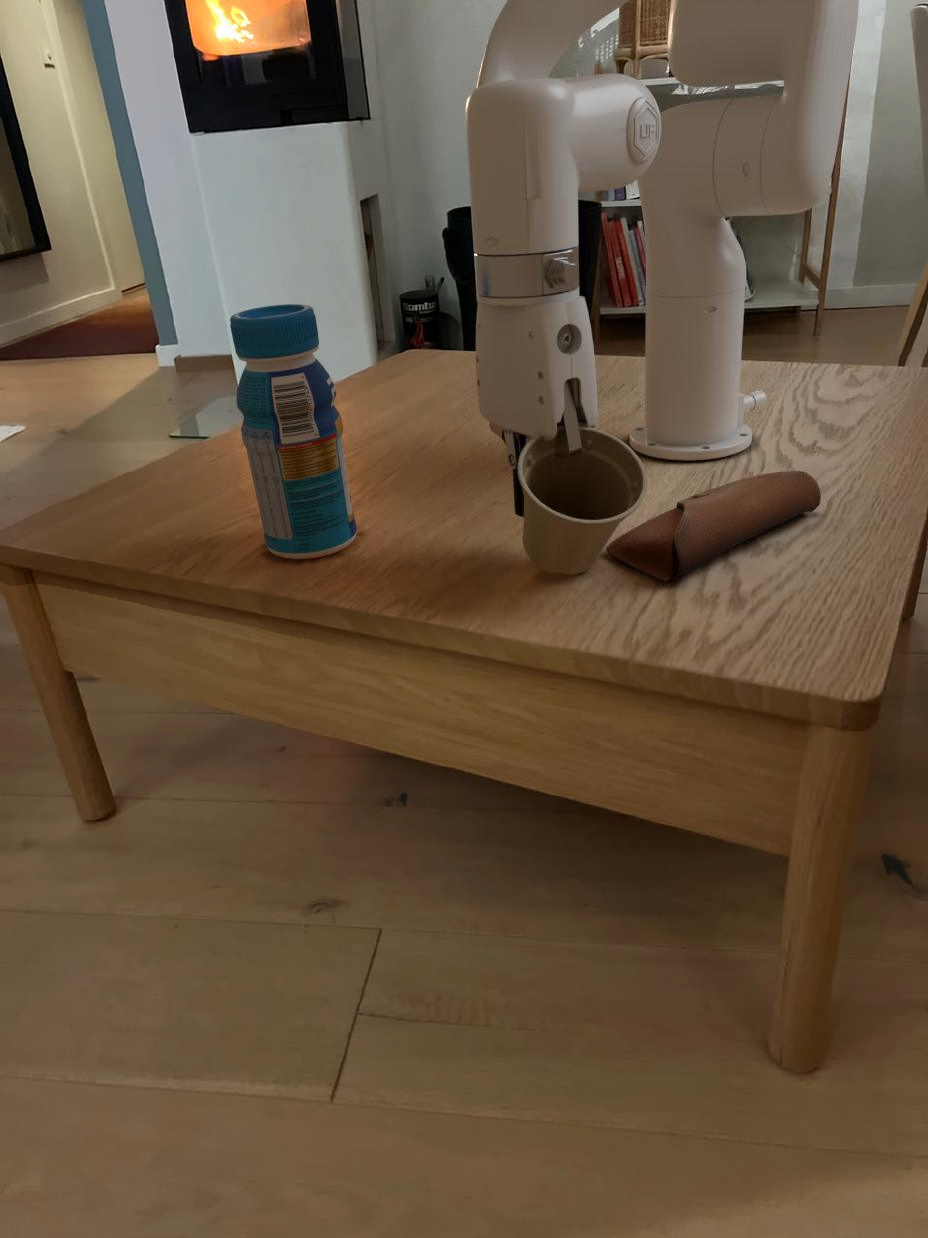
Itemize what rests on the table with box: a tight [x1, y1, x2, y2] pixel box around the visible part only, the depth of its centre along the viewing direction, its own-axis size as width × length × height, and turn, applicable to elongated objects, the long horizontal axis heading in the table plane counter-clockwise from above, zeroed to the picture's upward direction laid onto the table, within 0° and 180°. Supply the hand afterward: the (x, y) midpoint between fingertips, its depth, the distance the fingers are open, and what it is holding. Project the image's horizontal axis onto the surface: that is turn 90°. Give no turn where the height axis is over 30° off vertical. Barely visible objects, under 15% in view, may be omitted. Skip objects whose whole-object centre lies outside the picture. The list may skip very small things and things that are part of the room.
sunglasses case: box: [605, 470, 822, 583], centre depth 74 cm, size 18×7×7 cm
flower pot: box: [517, 426, 648, 576], centre depth 68 cm, size 9×9×9 cm
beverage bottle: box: [229, 303, 358, 560], centre depth 76 cm, size 8×8×20 cm
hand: (536, 513), depth 74 cm, fingers closed
